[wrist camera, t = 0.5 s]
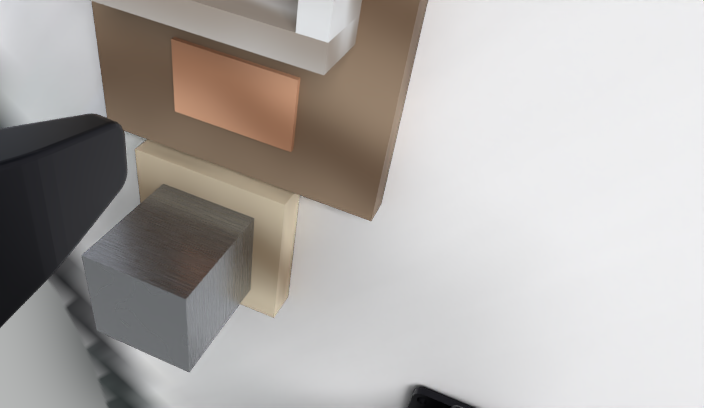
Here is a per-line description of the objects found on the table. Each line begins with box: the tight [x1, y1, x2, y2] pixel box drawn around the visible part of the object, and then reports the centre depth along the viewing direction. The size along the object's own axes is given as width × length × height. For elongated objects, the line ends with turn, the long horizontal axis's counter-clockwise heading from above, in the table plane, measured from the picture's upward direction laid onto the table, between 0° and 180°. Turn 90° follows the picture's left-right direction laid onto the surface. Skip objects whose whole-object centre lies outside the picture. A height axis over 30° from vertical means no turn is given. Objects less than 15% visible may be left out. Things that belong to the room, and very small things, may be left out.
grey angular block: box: [82, 184, 254, 372], centre depth 25 cm, size 4×4×5 cm
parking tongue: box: [135, 139, 300, 318], centre depth 27 cm, size 7×7×2 cm
